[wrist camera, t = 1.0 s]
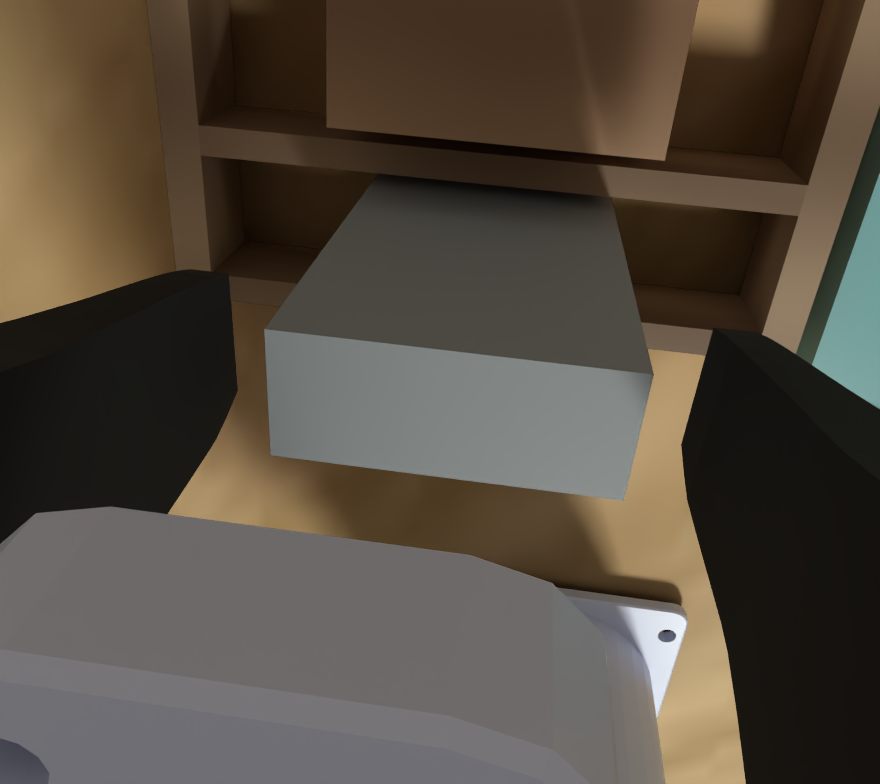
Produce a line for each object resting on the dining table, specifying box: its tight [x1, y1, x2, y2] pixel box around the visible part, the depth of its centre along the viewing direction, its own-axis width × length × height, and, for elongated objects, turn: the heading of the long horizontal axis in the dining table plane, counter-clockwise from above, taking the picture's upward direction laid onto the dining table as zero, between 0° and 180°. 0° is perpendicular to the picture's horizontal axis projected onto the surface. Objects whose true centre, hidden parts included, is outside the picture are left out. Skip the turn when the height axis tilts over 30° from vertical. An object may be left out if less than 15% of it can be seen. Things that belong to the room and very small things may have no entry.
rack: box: [146, 0, 880, 355], centre depth 16 cm, size 8×14×2 cm, turn 86°
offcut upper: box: [326, 0, 699, 161], centre depth 14 cm, size 3×6×2 cm, turn 86°
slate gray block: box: [264, 174, 654, 501], centre depth 14 cm, size 2×5×9 cm, turn 86°
